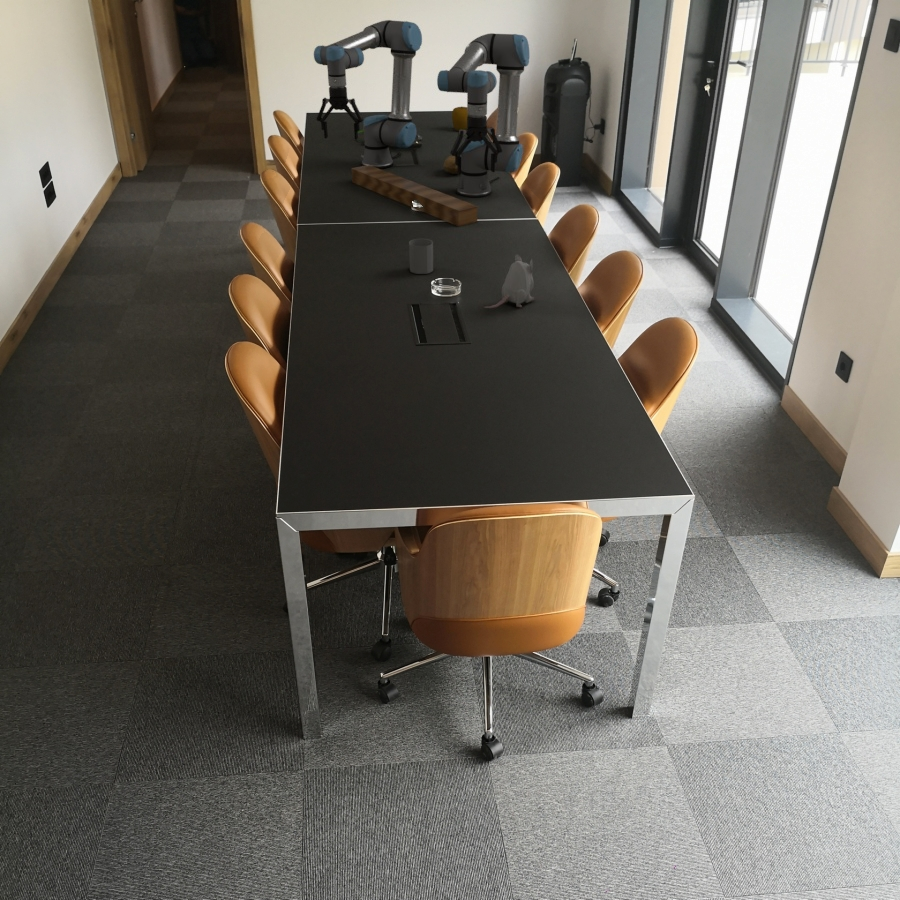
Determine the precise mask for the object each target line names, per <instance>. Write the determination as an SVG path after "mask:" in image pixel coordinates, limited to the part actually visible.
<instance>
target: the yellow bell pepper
mask: <svg viewBox="0 0 900 900" xmlns="http://www.w3.org/2000/svg"><path fill="white" fill-rule="evenodd" d="M467 116H468V114H467V106H462V105H461V106H457V107H454V108H452V111H451V121H452V125H453V128H454V129H455V131H457V132H459V129H461V130H466V129H467Z"/></svg>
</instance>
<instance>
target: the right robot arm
mask: <svg viewBox="0 0 900 900" xmlns="http://www.w3.org/2000/svg"><path fill="white" fill-rule="evenodd" d="M529 63H530V44H529V41H528V38H527V37H526V36H525V35H524V34H517V33H492V32H491V33H486V34H483V35H480V36H478V37H476V38H475V39H472V41H470V42H469V43H468V44H466V47H465V49H464V52H463V54H462V55H461V56H460V57H459V58H458V60H457V61H456V62H455V63H454V64H453V66H451V67H450V69H449V70H447V69H445V70H440V71H439V72H438V74H437V79H436V84H437V89H438V91H440V92H446V93H460V94H461V93H462V94H466V95H467V96H466V97H467V98H466V99H467V102H466V103H467V104H466V107H467V114H468V116H467V129H466V130H461V129H459V131H458V134H457V137H456V138H455V141H454V143H453V146H452V148H451V150H450V152H449V153H450V156H451V155H452V156H455V164H456V166H457V173H458V174H457V175H460V177H459V180H458V183H457V185H456V186H457V187H456V193H457V194H458V195H459V196H463V197H466V198H481V197H482V198H483V197H486V196H489V195H490V194H491V193H492V186H491V184H492V183H493V182H494V181H496V180H498V179H500V176H496V177H495V178H493V179H491V180H489V177H488V171H491V173H495V172H505V173H516V172H517V171H518V170H519V168H520V166H521V162H522V159H523V155H524V146H523V144H521V143H520V138H519V137H518V136H517V130H518V115H519V100H520V83H521V75H522V74H523V73H524V72H525V67H527V66H529ZM483 65H496V67H495V68H496V71H497V72H498V74H499V79H498V80H499V81H498V80H497V76H496V75H495V73H494V72H492V71H491V70H490V71H489V70H486V71H485V70H481V69H478V68H479V67H482V66H483ZM477 69H478V70H477ZM497 83H498V96H497V97H498V98H497V114H496V115H497V116H496V117H497V118H496V129H495V128H494V127H492V126H491V127H490V128H489V127H488V122H487V121H488V116H487V115H488V94H490V93H492V92H493V91H494V90H495V88H496V86H497ZM488 134H489V135H490V137H491V139H492V141H491V142H490V141H489V138H488V137H487V135H488ZM465 135H467V136H466V138H465V139H464V141H463V138H464V136H465ZM461 142H462V143H461Z"/></svg>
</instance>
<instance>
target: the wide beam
mask: <svg viewBox="0 0 900 900" xmlns="http://www.w3.org/2000/svg"><path fill="white" fill-rule="evenodd" d="M350 171H351V182H352V184H354V185H356V186H357V185H358V186H359V187H362V188H364V189H367V190H370V191H372V192H374V193H376V194H379V195H381V196H384V197H386V198H388V199H391V200H394V201H395V202H398V203H401V204H403V205H405V206H408V207H410V208H413V209H415V210H417V211H420V212H422V213H424V214H427V215H430V216H432V217H434V218H437V219H439V220H442V221H444V222H447V223H449V224H451V225H453V226H456V227H462V226H467V225H470V224H475V223H477V222H478V206H477V205H476V204H474V203H473V204H472V203H470V202H468V201H465V200H462V199H459V198H457V197H454V196H452V195H449V194H447V193H444V192H442V191H438V190H436V189H434V188H431V187H428V186H425V185H423V184H420V183H417V182H414V181H412V180H410V179H407V178H404V177H402V176H399V175H396V174H395V173H392V172H390V171H389V172H388V171H386V170H384V169H378V168H376V167H373V166H370V165H366V166H362V165H361V166H357V167H351V170H350ZM414 200H417V202H419V203H420V204H421V205H422V206H423V208H422V209H420V208H418V207H413V205H412V201H414Z"/></svg>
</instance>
